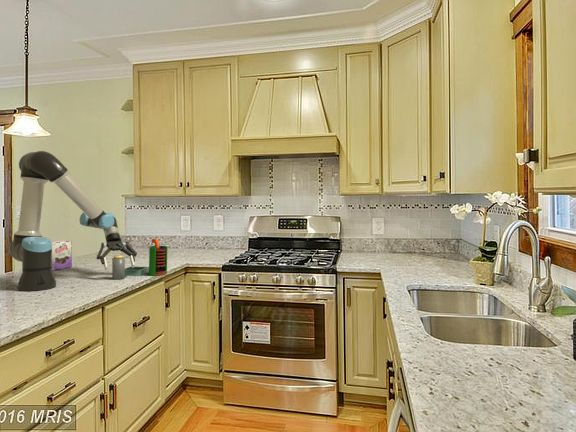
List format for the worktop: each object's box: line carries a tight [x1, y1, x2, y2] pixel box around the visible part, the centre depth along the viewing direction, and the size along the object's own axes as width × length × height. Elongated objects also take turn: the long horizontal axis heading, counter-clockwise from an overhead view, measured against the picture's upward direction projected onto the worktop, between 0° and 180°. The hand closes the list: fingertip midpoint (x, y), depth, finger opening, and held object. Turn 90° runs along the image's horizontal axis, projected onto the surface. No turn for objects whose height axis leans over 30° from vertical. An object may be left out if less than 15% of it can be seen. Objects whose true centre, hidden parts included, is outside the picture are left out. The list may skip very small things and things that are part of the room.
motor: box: [148, 238, 168, 277], centre depth 216 cm, size 10×9×20 cm
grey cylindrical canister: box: [111, 254, 126, 281], centre depth 203 cm, size 6×6×12 cm
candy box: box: [51, 240, 73, 272], centre depth 226 cm, size 14×6×16 cm, turn 160°
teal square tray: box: [125, 265, 149, 277], centre depth 217 cm, size 11×12×3 cm
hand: (120, 267), depth 203 cm, fingers open, 13 cm apart
